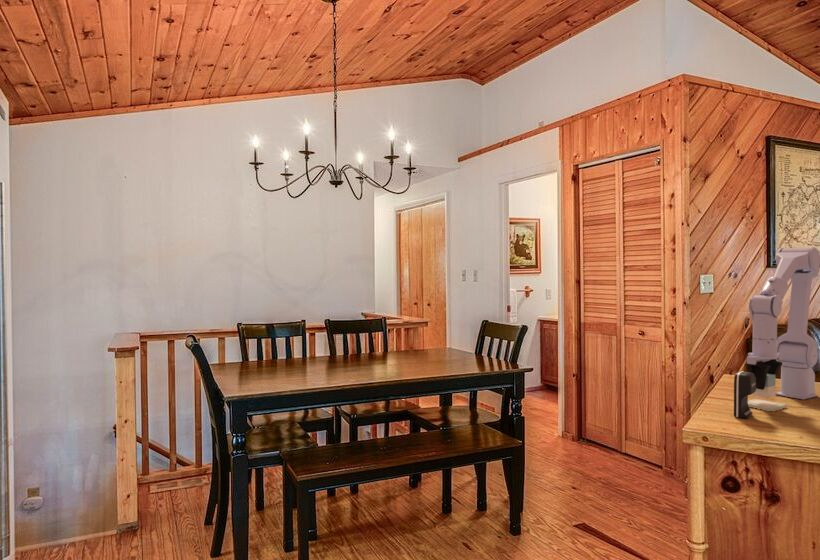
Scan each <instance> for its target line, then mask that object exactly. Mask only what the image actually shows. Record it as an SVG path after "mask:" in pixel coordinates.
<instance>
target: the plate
mask: <svg viewBox="0 0 820 560" xmlns="http://www.w3.org/2000/svg"><path fill="white" fill-rule="evenodd" d="M748 406H749V408H750V407H754V408H753V409H755V408H757V409H756V410H760V409H762V410H761V411H765V410H766V411H765V412H770V411H773V412H775V411H776V410H777V411H780V410H784V409H787V404H785V403H781V402H780V403H779V402H774V401H769V400H764V399H760V398H753V399H748ZM783 408H784V409H783ZM779 409H780V410H779Z"/></svg>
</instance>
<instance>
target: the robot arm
mask: <svg viewBox="0 0 820 560" xmlns="http://www.w3.org/2000/svg"><path fill="white" fill-rule="evenodd" d="M775 263H776V266H777V267H776V269H775V271H774V275H773V276H772V277H769V278H767V279H766V280H765V282H764V284H763V285H762V287H761V289H760V291H759V292H758V294H756V295H753V296H752V297H751V298H750V300H749V304H748V311H749V313H750V321H751V322H752V344H751V345H752V347H751V348H752V349H751V351H752V352H748V353H747V356H746V362H745V364H746V365H745V366H746V367H747V369H748V370H749V371H748V372H751V373H753V374H754V375H755V377H756V389H761V390H763V389H764V388H765V383H766V376H767V373H768V374H775V375H776V376H777V374H778V372H779V370H780V391H775V396H781V397H787V398H793V399H799V400H807V399H811V398H814V397H815V398H816V397H818V396H819V394H818V393H816V392H815V391H816V374H815V371H814V369H813V367H814V366H815V365H816V364H817V363H818V357H819V351H818V342H817V341H816V340H815V339H814V338H813V337H812V336H810V335H809V334H808V326H809V325H808V323H809V313H810V302H811V290H812V283H813V279H815V278H816V277H819V274H820V273H819V272H820V251H819V249H817V247H815V246H814V247H797V248H796V247H795V248H794V247H790V248H789V247H788V248H787V247H786V248H784V247H780V248H779V249H778V250H777V251H776V254H775ZM790 280H791V290H790V300H789V301H790V302H789V310H788V311H789V312H788V322H787V331H786V332H785V333H783V334H781V335H780V336H778V317H779V316H780V315H781V313H782V307H783V304H784V302H783V299H784V297H785V295H786V294H787V292H788V290H789V284H788V282H789V281H790ZM776 376H775V378H776Z"/></svg>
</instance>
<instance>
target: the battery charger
mask: <svg viewBox="0 0 820 560" xmlns="http://www.w3.org/2000/svg"><path fill="white" fill-rule="evenodd" d="M733 377H734V378H733V379H734V381H733V417H734V418H738V417H739V418H740V419H749V418H750V417H752V415H753V411H752V410H751V408H750V407H749V406H748V401H749V399H748V398H749V397H748V396H752V394H753V393H754V392H755V391H756V377H755V375H754V374H753V373H751V372H750V371H744V370H740V371H738V372H736V373H735V374H734V376H733Z"/></svg>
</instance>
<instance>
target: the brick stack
mask: <svg viewBox="0 0 820 560" xmlns="http://www.w3.org/2000/svg"><path fill="white" fill-rule="evenodd" d="M775 376H777V375H775V374H768V373H767V376H766V383H765V388H764V389H763V390H761V389H756V391H755V392H754V393H753V394H751V396H752V397H753V396H755V397H759V398H765V399H771V398H774V397H776V395H775V393H776V377H775Z"/></svg>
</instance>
